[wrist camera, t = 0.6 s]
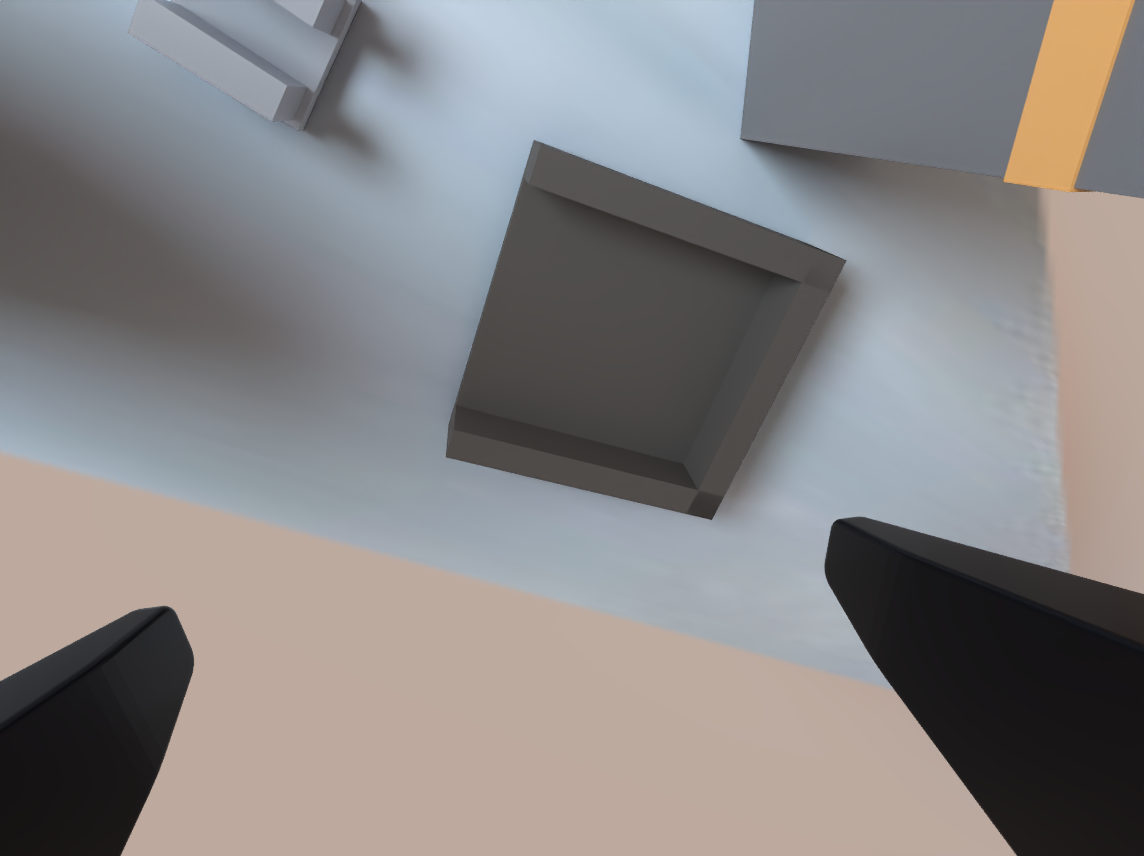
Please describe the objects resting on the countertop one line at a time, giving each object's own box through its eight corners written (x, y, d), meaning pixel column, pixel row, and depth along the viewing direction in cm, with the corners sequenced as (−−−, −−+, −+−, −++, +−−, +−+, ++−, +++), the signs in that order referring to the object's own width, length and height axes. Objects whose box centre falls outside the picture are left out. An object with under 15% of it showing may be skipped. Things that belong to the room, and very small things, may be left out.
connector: (738, 140, 19) (1530, 263, 5) (757, -49, 17) (2278, -862, 3) (883, 138, 20) (1997, 244, 5) (919, -46, 18) (2931, -713, 3)
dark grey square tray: (448, 424, 22) (445, 457, 20) (533, 140, 18) (540, 145, 16) (692, 485, 25) (711, 520, 23) (810, 244, 21) (846, 260, 19)
